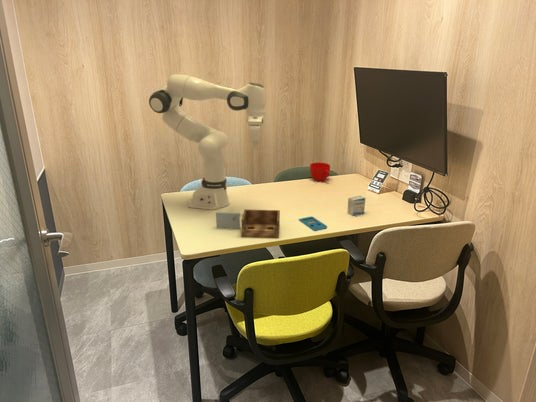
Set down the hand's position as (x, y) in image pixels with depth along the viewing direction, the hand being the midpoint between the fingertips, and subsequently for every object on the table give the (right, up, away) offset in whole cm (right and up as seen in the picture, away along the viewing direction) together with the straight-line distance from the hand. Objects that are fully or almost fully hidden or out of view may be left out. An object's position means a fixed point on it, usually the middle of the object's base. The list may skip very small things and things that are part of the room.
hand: (255, 146), depth 193 cm
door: (-13, -39, -4) cm, 42 cm away
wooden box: (+3, -40, -7) cm, 41 cm away
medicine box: (+52, -33, +13) cm, 63 cm away
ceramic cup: (+41, -13, +64) cm, 77 cm away
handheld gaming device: (+28, -38, +1) cm, 48 cm away
